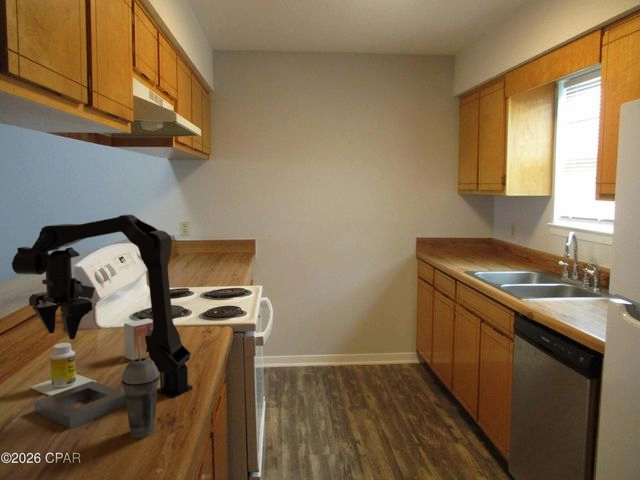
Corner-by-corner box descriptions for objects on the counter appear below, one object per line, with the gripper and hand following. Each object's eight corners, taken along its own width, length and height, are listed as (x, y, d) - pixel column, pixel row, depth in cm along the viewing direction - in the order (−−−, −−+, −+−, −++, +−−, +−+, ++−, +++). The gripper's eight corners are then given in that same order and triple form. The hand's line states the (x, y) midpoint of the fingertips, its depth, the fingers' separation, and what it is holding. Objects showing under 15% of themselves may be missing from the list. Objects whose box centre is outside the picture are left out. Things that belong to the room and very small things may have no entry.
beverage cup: (124, 444, 95) (120, 345, 93) (122, 428, 101) (119, 335, 99) (162, 437, 98) (159, 340, 96) (159, 421, 104) (156, 331, 102)
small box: (134, 361, 141) (132, 326, 140) (124, 357, 144) (123, 323, 143) (158, 354, 147) (157, 320, 146) (149, 350, 150) (147, 317, 149)
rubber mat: (97, 382, 125) (97, 381, 125) (54, 398, 116) (54, 396, 116) (72, 374, 131) (72, 372, 131) (30, 388, 122) (30, 386, 122)
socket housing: (128, 403, 113) (128, 393, 113) (70, 428, 101) (70, 417, 101) (92, 390, 120) (92, 380, 120) (34, 412, 109) (34, 401, 108)
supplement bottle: (71, 388, 121) (69, 348, 120) (47, 389, 120) (45, 349, 119) (79, 379, 126) (78, 341, 125) (57, 380, 126) (55, 341, 125)
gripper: (111, 274, 122) (113, 334, 124) (68, 267, 132) (71, 323, 134) (68, 280, 113) (71, 345, 115) (26, 273, 123) (29, 333, 124)
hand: (61, 336), depth 122 cm, fingers open, 9 cm apart
